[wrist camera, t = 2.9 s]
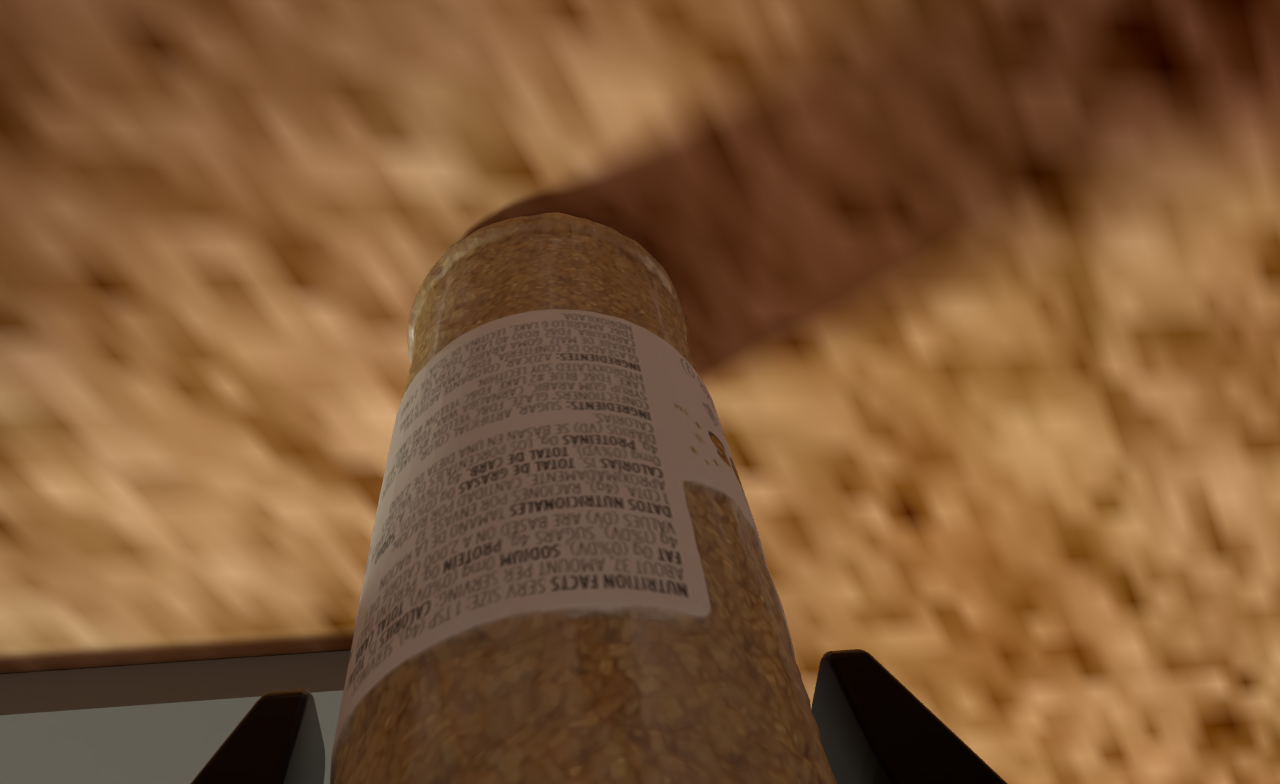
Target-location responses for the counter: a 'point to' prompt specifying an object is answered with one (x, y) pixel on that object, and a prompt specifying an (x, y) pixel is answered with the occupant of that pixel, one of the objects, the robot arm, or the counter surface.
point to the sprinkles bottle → (565, 543)
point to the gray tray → (148, 716)
